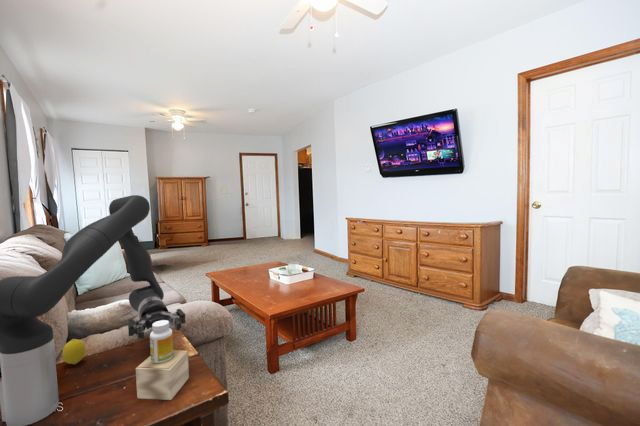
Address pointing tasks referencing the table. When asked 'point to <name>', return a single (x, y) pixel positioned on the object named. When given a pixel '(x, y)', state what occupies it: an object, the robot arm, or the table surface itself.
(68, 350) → the lemon
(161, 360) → the supplement bottle
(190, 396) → the table surface
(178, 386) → the maple block
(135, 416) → the table surface
